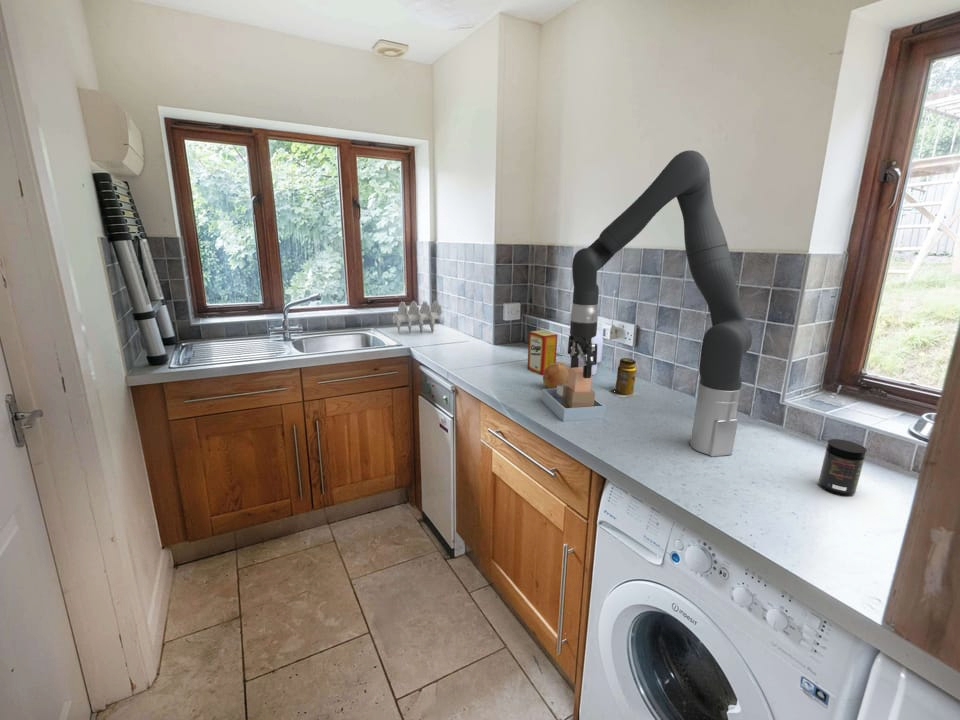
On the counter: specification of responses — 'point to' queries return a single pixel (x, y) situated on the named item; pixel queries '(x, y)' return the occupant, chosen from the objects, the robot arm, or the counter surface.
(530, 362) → the baking soda box
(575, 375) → the peach rectangular block
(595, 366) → the soap bottle
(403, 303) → the grey lumpy piece
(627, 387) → the condiment
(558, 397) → the grey tin
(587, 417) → the tote
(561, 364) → the onion
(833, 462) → the supplement container
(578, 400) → the walnut block
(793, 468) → the counter surface
